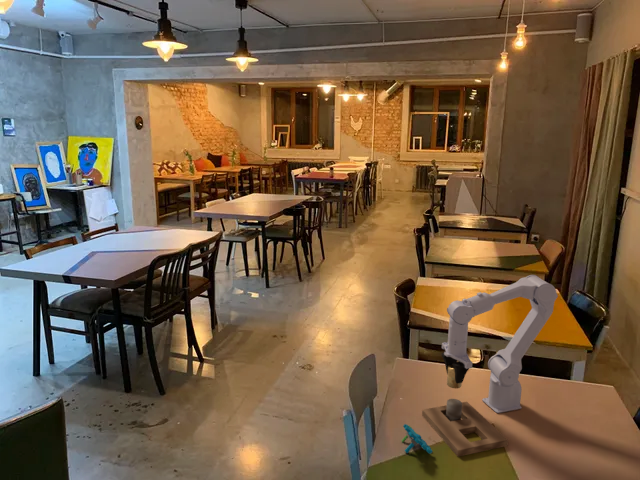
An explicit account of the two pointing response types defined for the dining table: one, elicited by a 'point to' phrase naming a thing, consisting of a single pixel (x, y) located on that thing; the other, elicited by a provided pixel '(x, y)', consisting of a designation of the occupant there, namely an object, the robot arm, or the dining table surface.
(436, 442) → the dining table surface
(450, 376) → the brass sleeve
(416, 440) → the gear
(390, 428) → the dining table surface
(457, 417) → the walnut jig
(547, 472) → the dining table surface
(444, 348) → the robot arm
